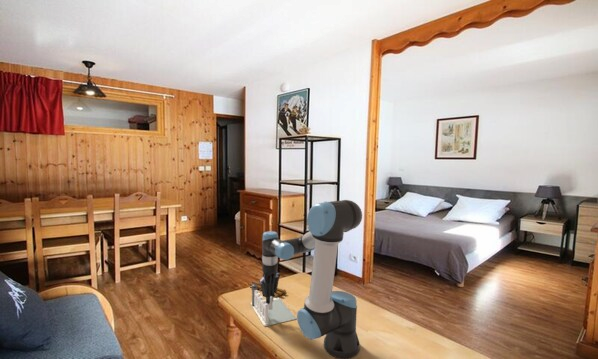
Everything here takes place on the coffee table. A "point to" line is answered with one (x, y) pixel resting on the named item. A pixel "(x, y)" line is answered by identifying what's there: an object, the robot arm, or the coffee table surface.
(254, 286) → the corner post
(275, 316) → the board
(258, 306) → the fence panel
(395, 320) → the coffee table surface
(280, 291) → the decorative fence
